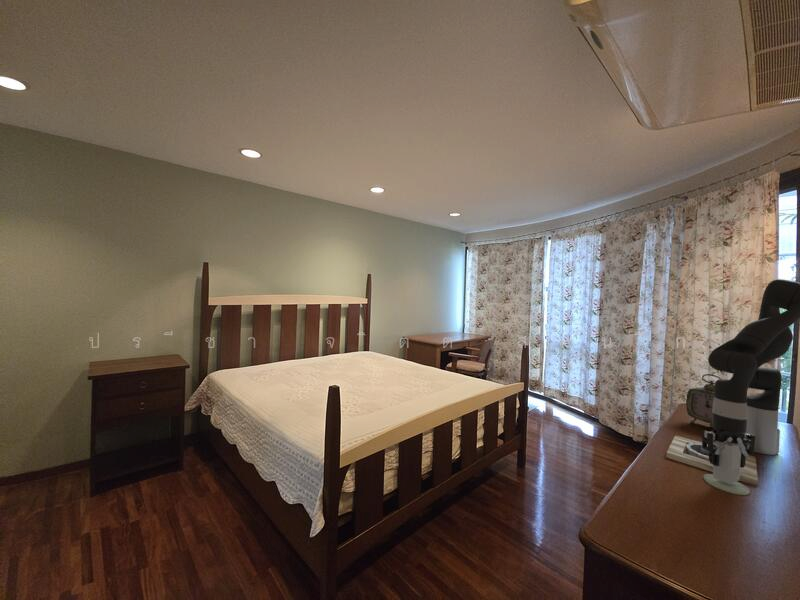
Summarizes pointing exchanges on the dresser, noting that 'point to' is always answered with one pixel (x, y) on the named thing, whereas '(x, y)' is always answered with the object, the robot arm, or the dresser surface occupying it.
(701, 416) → the tabletop clock
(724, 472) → the skincare box
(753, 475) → the striped wooden board
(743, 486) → the coaster
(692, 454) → the segmented octagonal ring
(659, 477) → the dresser surface
